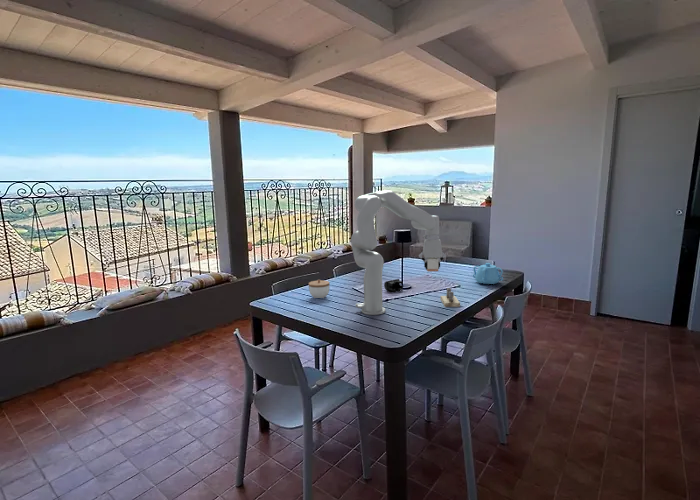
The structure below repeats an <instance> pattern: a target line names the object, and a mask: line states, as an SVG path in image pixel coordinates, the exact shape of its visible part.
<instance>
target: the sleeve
mask: <svg viewBox="0 0 700 500" xmlns="http://www.w3.org/2000/svg"><path fill="white" fill-rule="evenodd" d="M425 270H426V272H427V273H429V272H439V269H438V258H428V259H427V269H425Z"/></svg>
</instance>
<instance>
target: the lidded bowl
mask: <svg viewBox="0 0 700 500" xmlns="http://www.w3.org/2000/svg"><path fill="white" fill-rule="evenodd" d="M330 283H331V282H330V281H328V280H321V279H317V280H311V281H310V282H308V289H309V294H310V295H311V296H312V297H313V299H315V298H323V299H325V298H327V296H329V295H328V294H329V292H330ZM324 297H325V298H324Z"/></svg>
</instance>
